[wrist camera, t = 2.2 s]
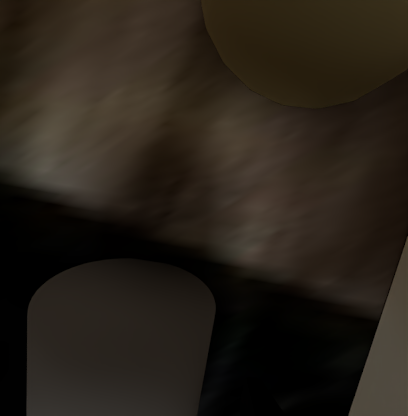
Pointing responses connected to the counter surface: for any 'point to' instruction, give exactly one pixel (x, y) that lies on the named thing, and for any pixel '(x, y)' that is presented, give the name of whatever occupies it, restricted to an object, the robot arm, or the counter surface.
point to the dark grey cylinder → (118, 341)
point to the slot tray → (388, 355)
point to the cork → (310, 46)
